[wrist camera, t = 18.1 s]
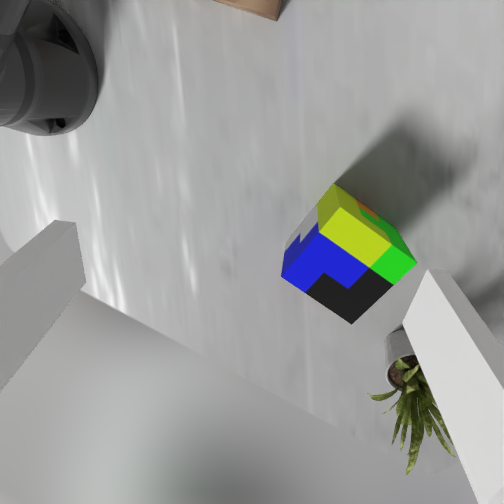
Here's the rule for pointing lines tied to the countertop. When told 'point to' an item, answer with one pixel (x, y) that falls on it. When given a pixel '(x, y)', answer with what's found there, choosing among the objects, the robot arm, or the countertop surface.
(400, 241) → the puzzle toy
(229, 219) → the countertop surface
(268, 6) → the two-layer plinth
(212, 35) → the countertop surface
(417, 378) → the house plant
